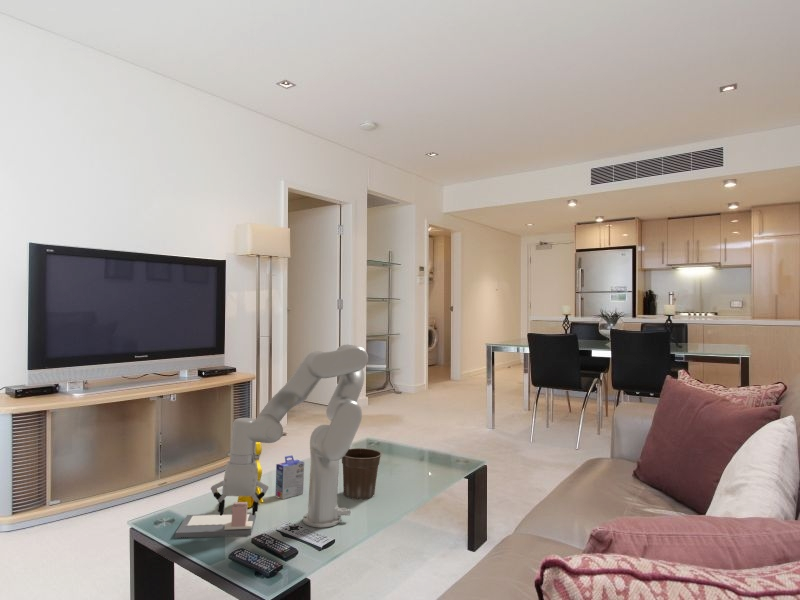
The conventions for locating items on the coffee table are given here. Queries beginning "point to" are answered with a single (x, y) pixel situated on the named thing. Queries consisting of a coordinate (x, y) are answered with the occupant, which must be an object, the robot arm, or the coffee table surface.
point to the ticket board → (211, 526)
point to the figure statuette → (249, 498)
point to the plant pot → (360, 472)
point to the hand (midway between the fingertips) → (237, 513)
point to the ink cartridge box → (289, 478)
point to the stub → (239, 517)
